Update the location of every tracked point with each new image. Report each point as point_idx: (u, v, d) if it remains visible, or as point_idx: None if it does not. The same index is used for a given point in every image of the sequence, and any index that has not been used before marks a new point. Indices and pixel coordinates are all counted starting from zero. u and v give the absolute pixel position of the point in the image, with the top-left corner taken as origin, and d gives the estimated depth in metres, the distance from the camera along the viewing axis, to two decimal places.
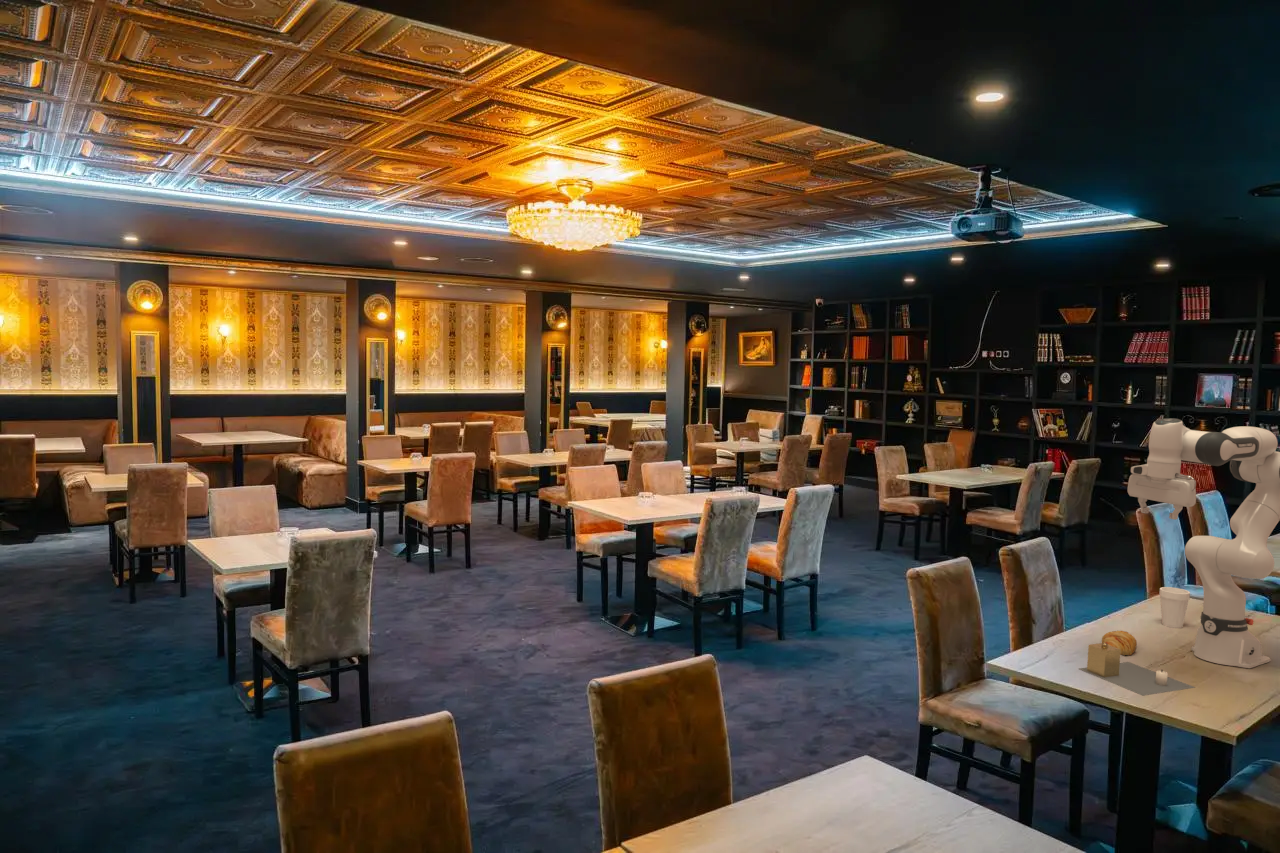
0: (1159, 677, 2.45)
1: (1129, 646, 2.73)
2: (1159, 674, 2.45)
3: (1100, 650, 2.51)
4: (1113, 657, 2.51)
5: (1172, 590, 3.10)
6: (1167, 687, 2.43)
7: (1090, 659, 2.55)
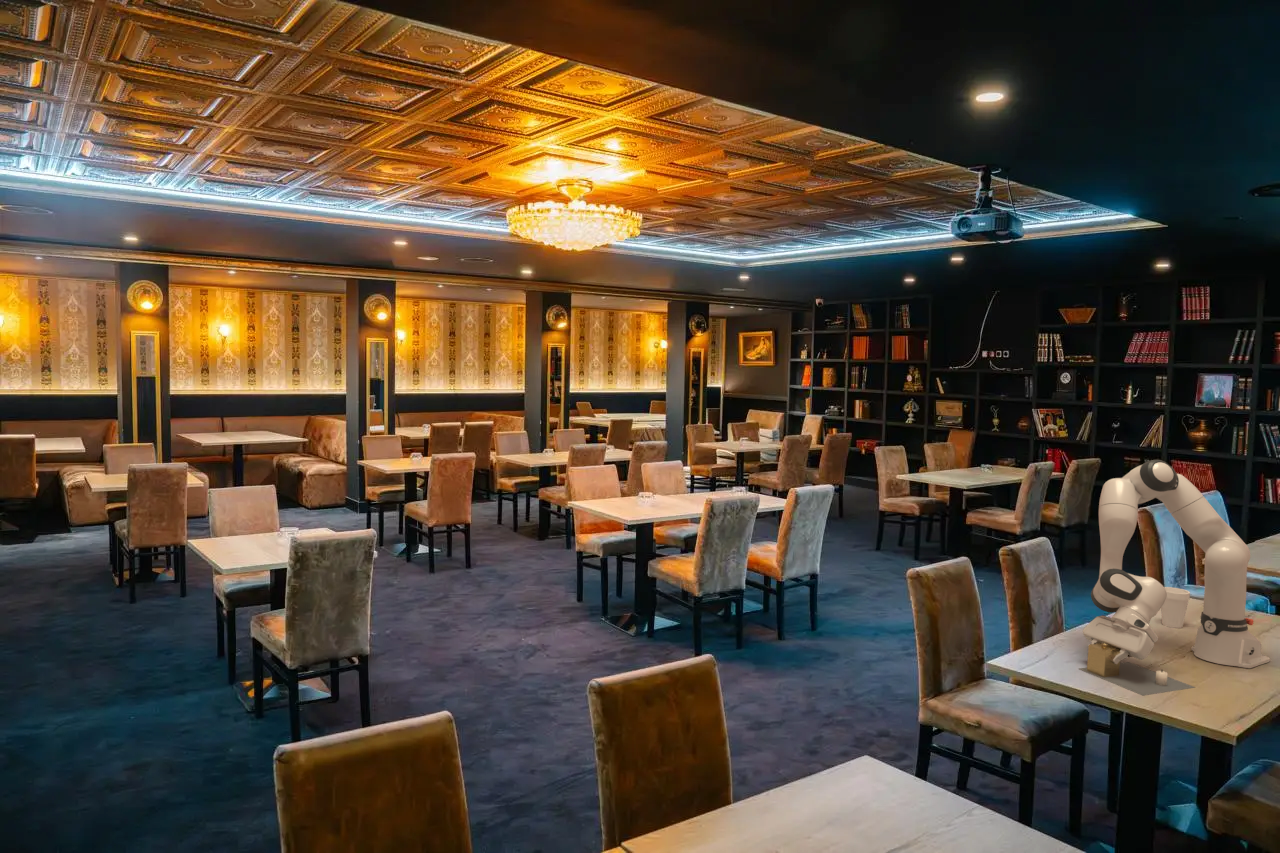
0: (1159, 677, 2.45)
1: None
2: (1159, 674, 2.45)
3: (1100, 650, 2.51)
4: None
5: (1172, 590, 3.10)
6: (1167, 687, 2.43)
7: (1090, 659, 2.55)
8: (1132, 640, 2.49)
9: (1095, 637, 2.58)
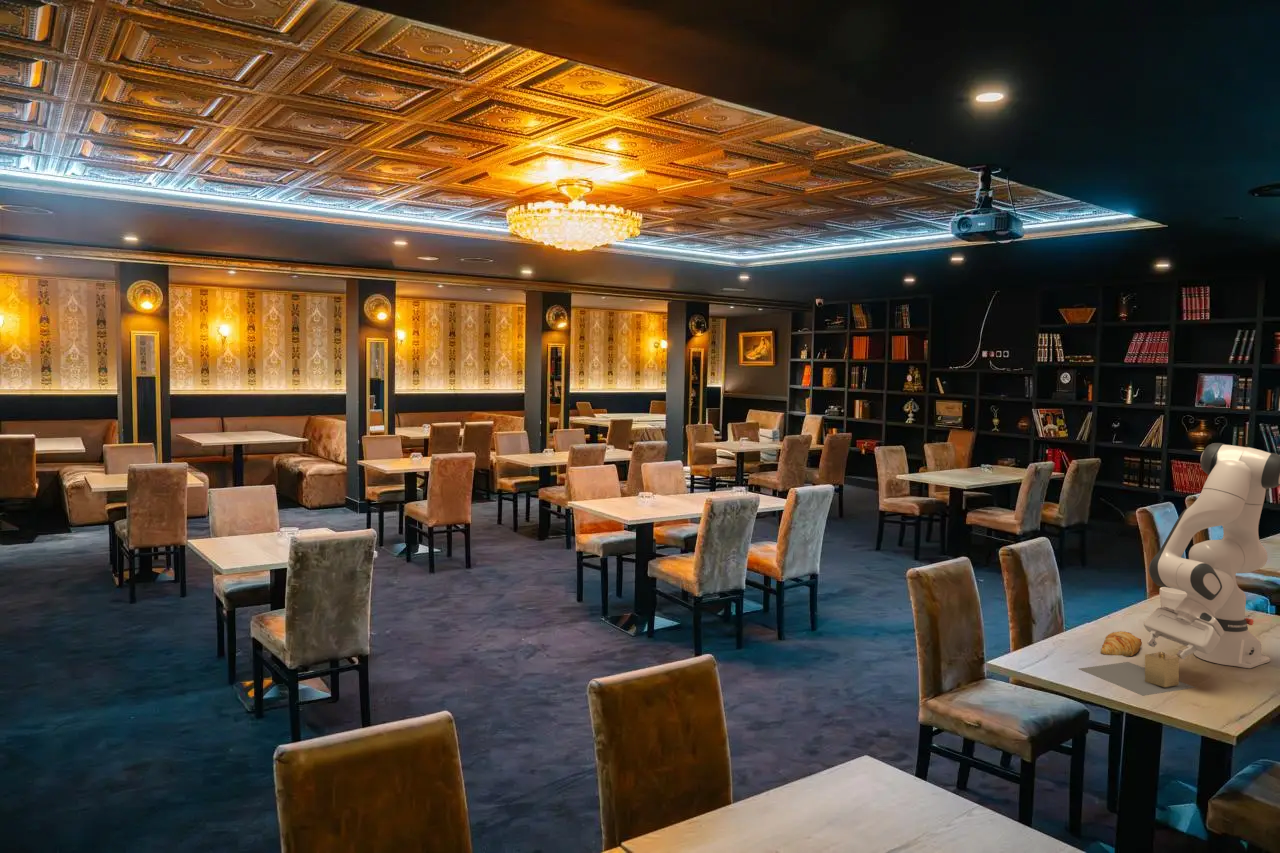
0: None
1: (1130, 647, 2.72)
2: None
3: (1158, 659, 2.44)
4: (1172, 666, 2.43)
5: (1172, 590, 3.10)
6: (1167, 687, 2.43)
7: (1148, 669, 2.47)
8: (1197, 634, 2.43)
9: (1157, 629, 2.52)
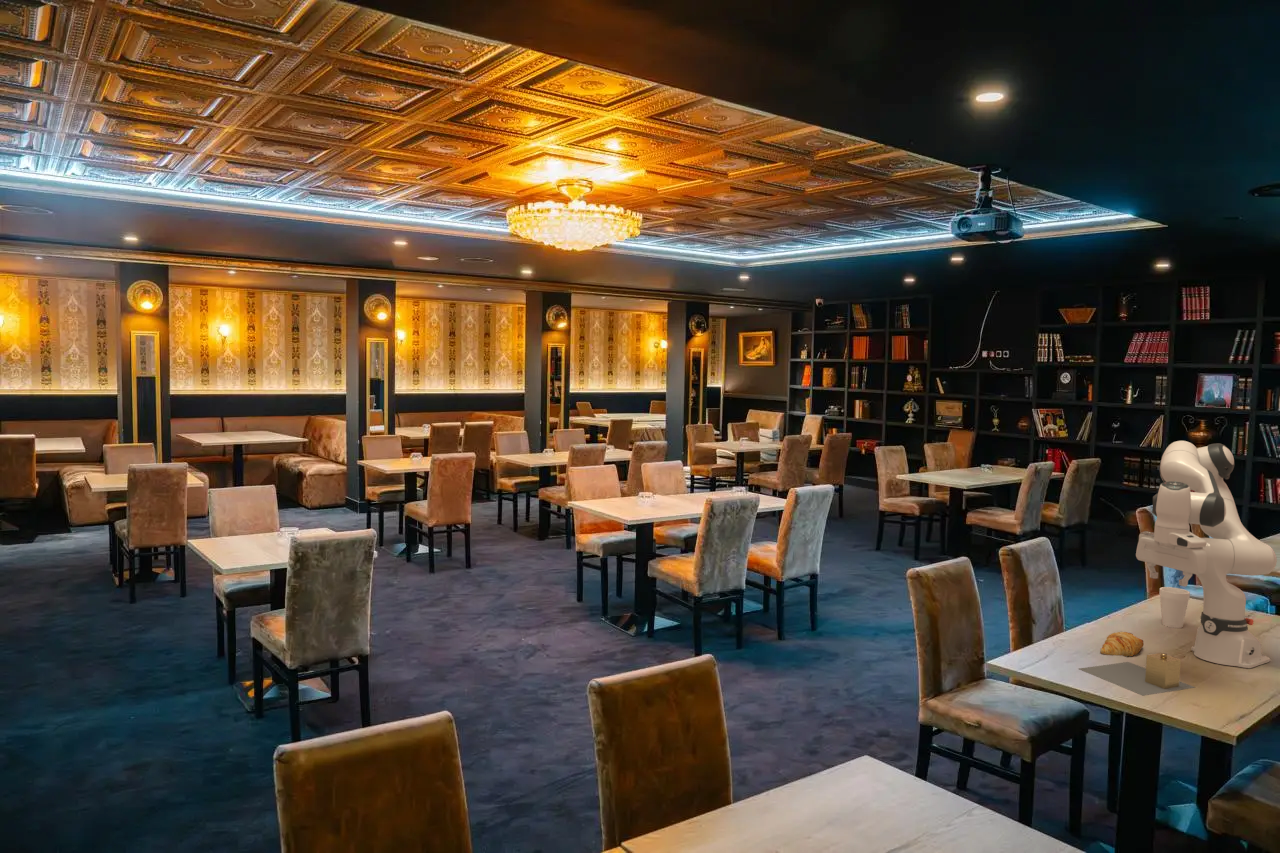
0: None
1: (1130, 647, 2.72)
2: None
3: (1160, 661, 2.43)
4: (1173, 668, 2.43)
5: (1172, 590, 3.10)
6: None
7: (1149, 670, 2.46)
8: (1184, 560, 2.46)
9: (1150, 562, 2.56)
